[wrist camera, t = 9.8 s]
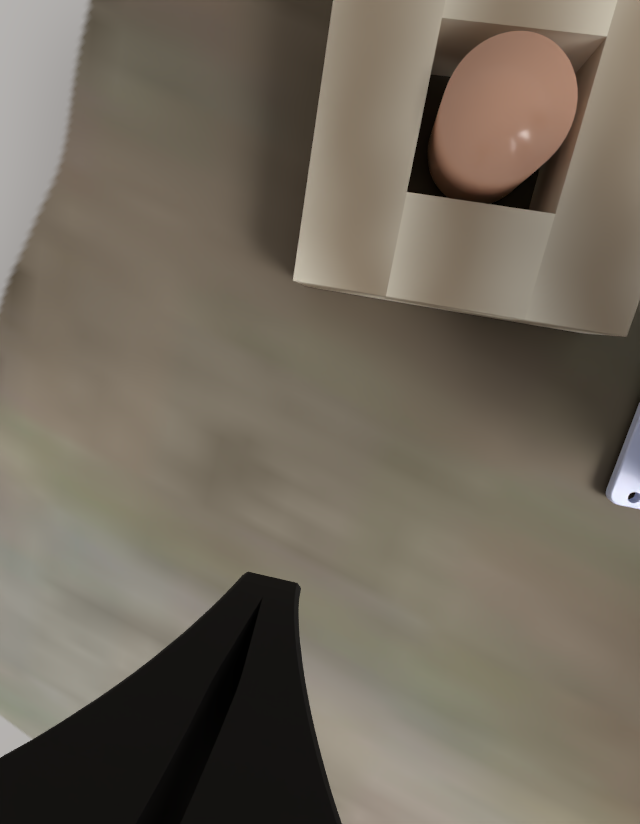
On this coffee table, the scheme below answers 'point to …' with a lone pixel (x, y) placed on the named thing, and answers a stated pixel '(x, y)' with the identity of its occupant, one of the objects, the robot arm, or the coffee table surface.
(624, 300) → the button panel
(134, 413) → the coffee table surface
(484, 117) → the terracotta button
